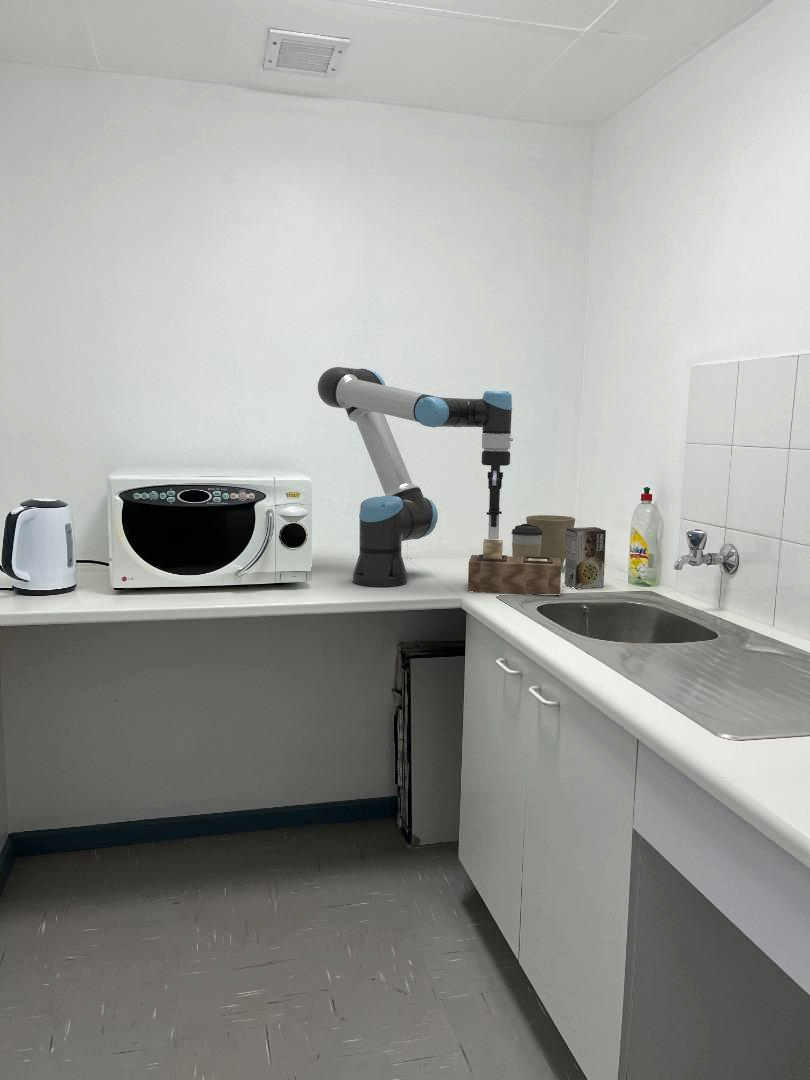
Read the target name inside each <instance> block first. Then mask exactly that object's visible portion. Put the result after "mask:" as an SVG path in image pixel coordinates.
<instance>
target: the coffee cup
mask: <svg viewBox="0 0 810 1080" xmlns="http://www.w3.org/2000/svg"><path fill="white" fill-rule="evenodd" d="M542 532H543V531H542V530H540V528H539V527H538V526H532V525H530V524H527V523H522V524H519V525H515V526H514V528H513V529H511V537H512V541H511V546H512V547H511V548H512V549H511V550H512V551H511V552H512V555H511V556H513V557H523V556H535V557H540V553H541V544H542V543H541V539H542V535H543V534H542Z"/></svg>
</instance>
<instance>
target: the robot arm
mask: <svg viewBox="0 0 810 1080" xmlns="http://www.w3.org/2000/svg"><path fill="white" fill-rule="evenodd" d="M317 392H318V395H319V398H320V399H321V400H322V402H323V403H324V404H326V405H327V406H328V407H332V408H336V409H345V412H346V414H347V416H348V419H349V420H350V421H351V422H354V423H356V426H357V428H358V430H359V432H360V435H361V437H362V441H363V442H364V445H365V448H366V451H367V453H368V455H369V458H370V460H371V462H372V465H373V467H374V469H375V472H376V475H377V477H378V480H379V483H380V485H381V487H382V490H383V492H384V495H383V496H374V497H370V498H369V497H368V498H366V499H364V500H363V501H362V502H361V503H360V506H359V508H360V509H359V514H358V515H359V516H358V518H359V553H358V558H357V560H356V563H355V566H354V569H353V573H352V582H353V583H354V584H357V585H360V586H365V587H366V586H367V587H381V588H383V587H384V588H385V587H395V586H396V587H397V586H401V585H405V584H407V583H408V572H407V569H406V566H405V562H404V558H403V556H402V546H403V545H402V543H403V542H404V541H410V540H420V539H421V538H424V537H427V536H429V535H430V534H432V533H433V531H434V530H435V528H436V524H437V523H438V514H439V513H438V509H437V506H436V504H435V503H434V502H433V501H432V500H431V499H429V498H428V497H425V496H424V495H423V492H422V489H421V487H420V486H418V485H415V484H414V483H413V482H412V481H413V480H412V479H411V476H410V474H409V472H408V469H407V467H406V465H405V464H406V463H405V462H404V460H403V457H402V454H401V452H400V449H399V447H398V444H397V443H396V440H395V437H394V435H393V432H392V430H391V427H390V425H389V423H388V420H387V418H386V415H387V416H390V417H391V416H392V417H395V418H399V419H403V420H408V421H413V422H417V423H419V424H420V425H422V426H424V427H429V428H439V427H442V428H445V427H446V428H447V427H448V428H482V432H481V449H483V450H482V451H481V465H483V466H490V471H488V472H487V480H488V484H487V485H488V486H487V487H488V490H489V498H488V499H489V501H488V502H489V503H488V504H489V505H488V511H487V512H486V516H487V515H488V535H487V539H492V540H500V539H499V537H500V536H499V534H500V532H499V531H500V515H502V514H503V512H502V511H500V509H501V508H500V500H501V499H500V496H501V489H502V487H503V481H502V480H503V479H504V472H503V471H501V466H502V467H503V466H504V467H505V466H506V467H507V466H510V464H511V452H510V451H509V450H510V449H511V442H513V441H514V437H511V436H512V435H511V434H512V411H513V401H512V400H513V398H512V397H513V396H512V393H511V392H510V391H507V390H486V391H484V392H483V395H482V398H457V397H441V396H436V395H432V394H426V393H421V392H416V391H411V390H407V389H401V388H397V387H394V386H390V385H387V384H386V383H385V381H384V378H383V377H382V376H381V375H380V374H379V373H377V372H376V371H373V370H370V369H367V368H353V367H344V366H335V367H331V368H329V369H326V370H325V371H324V372H323V373H322V374H321V376H320V377H319V379H318V382H317Z"/></svg>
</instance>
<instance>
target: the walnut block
mask: <svg viewBox="0 0 810 1080" xmlns="http://www.w3.org/2000/svg"><path fill="white" fill-rule="evenodd" d="M528 558H531V559H547V561H529V560H528ZM467 570H468V573H467V574H468V575H467V578H468V580H467V592H468V591H473V592H472V593H482V592H485V593H486V594H504V593H505V594H504V595H506V594H507V595H508V594H509V595H511V594H512V595H525V594H560V595H561V582H562V581H561V580H562V579H561V578H562V567H561V562H560V558H552V557H535V556H523V557H513V556H512V555H510V556H509V555H506V554H502V559H483V553H482V554H480V553H479V554H471V555H470V558H469V561H468V569H467Z"/></svg>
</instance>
